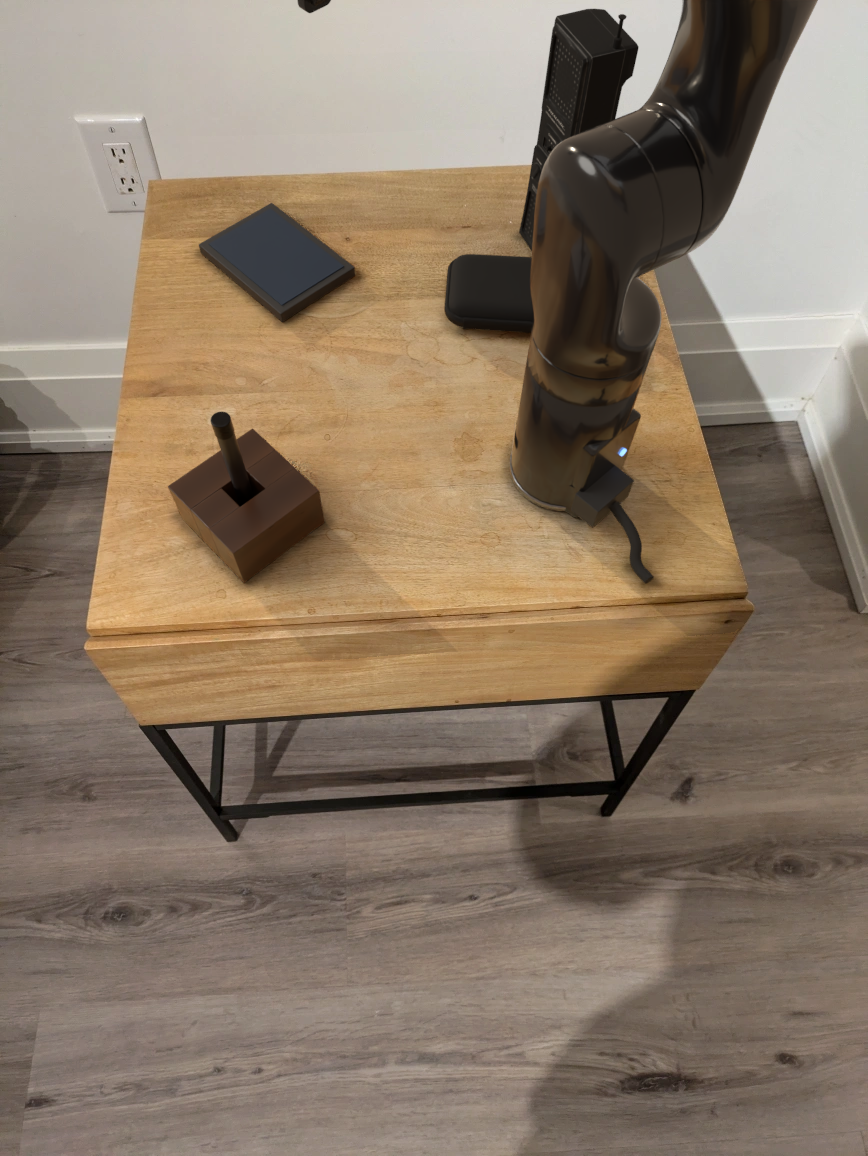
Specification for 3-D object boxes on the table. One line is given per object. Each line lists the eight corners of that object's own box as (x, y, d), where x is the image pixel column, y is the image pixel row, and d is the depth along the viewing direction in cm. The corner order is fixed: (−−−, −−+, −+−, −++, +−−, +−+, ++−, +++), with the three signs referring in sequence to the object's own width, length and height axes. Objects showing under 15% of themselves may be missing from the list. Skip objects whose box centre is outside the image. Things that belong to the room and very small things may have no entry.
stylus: (264, 520, 75) (234, 419, 63) (251, 530, 75) (218, 430, 62) (254, 510, 76) (222, 407, 63) (240, 520, 75) (206, 418, 63)
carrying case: (442, 342, 86) (587, 351, 85) (442, 319, 83) (592, 328, 83) (448, 268, 91) (585, 277, 91) (449, 245, 88) (590, 253, 88)
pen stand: (325, 522, 75) (319, 490, 71) (244, 583, 72) (232, 553, 68) (262, 462, 78) (252, 427, 74) (181, 518, 75) (167, 486, 71)
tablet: (355, 276, 90) (354, 266, 89) (282, 322, 87) (280, 313, 86) (273, 211, 95) (271, 201, 94) (200, 253, 91) (197, 243, 90)
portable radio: (511, 229, 94) (540, -18, 72) (559, 215, 95) (602, -32, 73) (543, 275, 91) (583, 30, 69) (593, 260, 92) (648, 15, 70)
